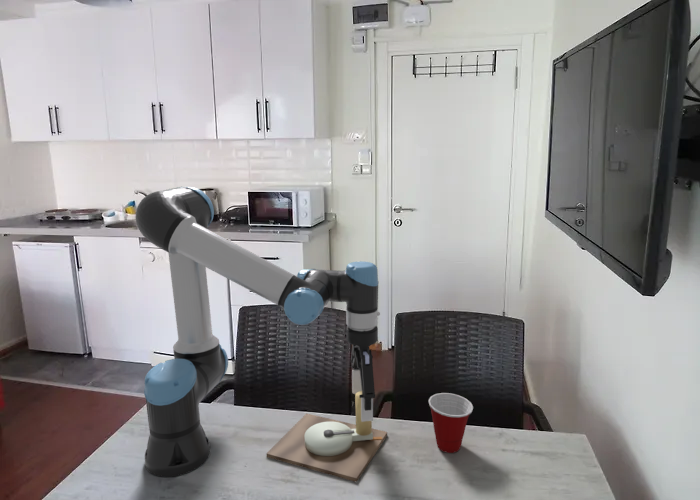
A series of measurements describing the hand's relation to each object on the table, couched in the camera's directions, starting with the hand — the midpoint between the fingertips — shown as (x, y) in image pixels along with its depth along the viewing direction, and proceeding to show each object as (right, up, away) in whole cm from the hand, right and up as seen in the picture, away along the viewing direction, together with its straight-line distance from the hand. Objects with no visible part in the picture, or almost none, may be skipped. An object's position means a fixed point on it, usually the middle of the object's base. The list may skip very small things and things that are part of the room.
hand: (362, 405), depth 127 cm
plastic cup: (+22, -10, 0) cm, 24 cm away
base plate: (-8, -10, +1) cm, 13 cm away
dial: (-6, -9, +1) cm, 11 cm away
